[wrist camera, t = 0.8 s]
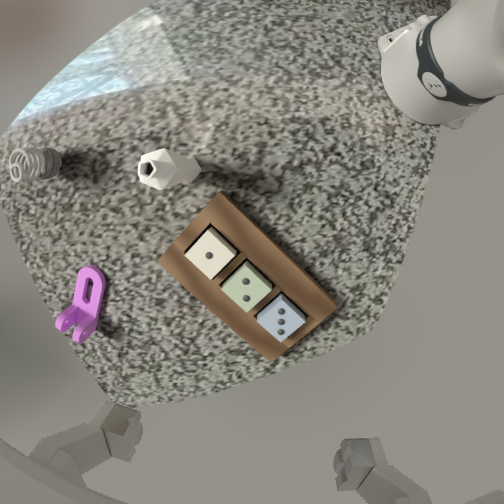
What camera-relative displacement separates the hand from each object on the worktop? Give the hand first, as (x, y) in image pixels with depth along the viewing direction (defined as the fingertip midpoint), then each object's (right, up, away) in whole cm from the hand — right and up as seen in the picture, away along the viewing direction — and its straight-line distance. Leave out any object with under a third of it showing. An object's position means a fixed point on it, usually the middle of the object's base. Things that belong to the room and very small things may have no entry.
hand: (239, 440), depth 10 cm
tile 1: (-5, +7, +34) cm, 35 cm away
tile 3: (+5, -2, +35) cm, 36 cm away
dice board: (0, +3, +36) cm, 36 cm away
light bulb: (-33, +23, +34) cm, 53 cm away
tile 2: (0, +3, +34) cm, 35 cm away
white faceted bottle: (-9, +20, +33) cm, 39 cm away
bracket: (-29, -1, +40) cm, 50 cm away
